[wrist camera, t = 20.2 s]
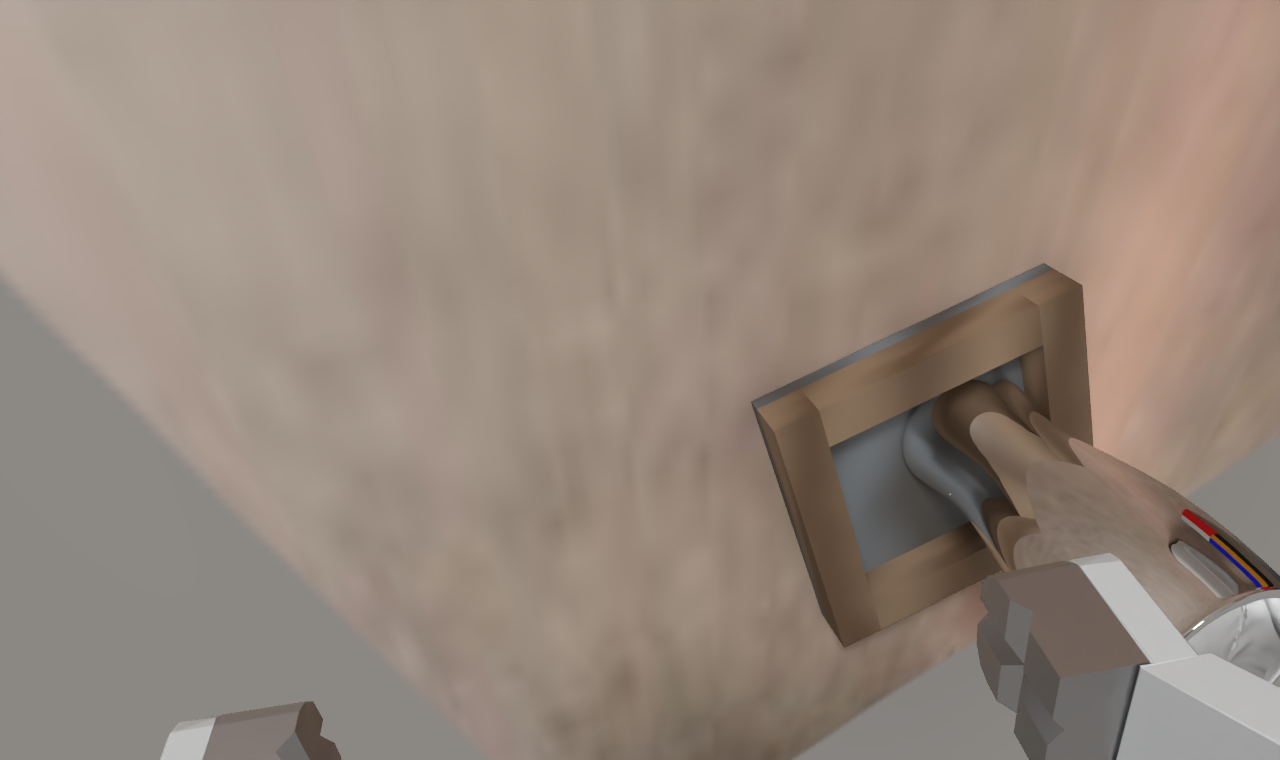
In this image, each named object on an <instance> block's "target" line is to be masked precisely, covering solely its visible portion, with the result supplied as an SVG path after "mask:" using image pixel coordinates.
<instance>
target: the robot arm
mask: <svg viewBox="0 0 1280 760" xmlns="http://www.w3.org/2000/svg"><path fill="white" fill-rule="evenodd" d="M981 600H982V601H983V603H984V605H985V607H986V608H987V610H988V613H987V615H986V616H985V617H984V618H983V619H982V620H981V621H980V622H979V623H978V631H977V648H978V653H979V658H980V664H981V667H982V670H983V672H984V675H985V678H986V680H987V683H988V685H989V687H990V689H991V690H992V692H993V694H994V696H995V698H996V700H997V701H998V702H1000V703H1001V704H1003V705H1005V706H1006V707H1008V708H1009V709H1011V710H1012V711H1014V712H1016V713H1017V715H1016V722H1015V729H1014V733H1015V735H1016V737H1017V739H1018V740H1019V742H1020V744H1021V746H1022V748H1023V749H1024V751H1025V753H1026V755H1027V757H1028V758H1029V760H1280V688H1279V687H1277V686H1275V685H1273V684H1271V683H1269V682H1267V681H1265V680H1264V679H1262V678H1260V677H1258V676H1256V675H1254V674H1252V673H1250V672H1248V671H1246V670H1244V669H1242V668H1240V667H1238V666H1236V665H1234V664H1232V663H1230V662H1228V661H1226V660H1224V659H1222V658H1220V657H1218V656H1216V655H1214V654H1212V653H1207V654H1200V655H1198V654H1197V653H1196V651H1195V650H1194V649H1193V648H1192V646H1191V645H1190V644H1189V643H1188V642H1187V640H1186V639H1185V638H1184V637H1183V636H1182V634H1181V633H1180V632H1179V631H1178V629H1177V628H1176V627H1175V626H1174V625H1173V623H1172V622H1171V621H1170V620H1169V618H1168V617H1167V616H1166V615H1165V614H1164V612H1163V611H1162V610H1161V609H1160V608H1159V606H1158V605H1157V604H1156V603H1155V601H1154V600H1153V599H1152V598H1151V597H1150V595H1149V594H1148V593H1147V592H1146V590H1145V589H1144V588H1143V587H1142V586H1141V584H1140V583H1139V582H1138V581H1137V580H1136V578H1135V577H1134V576H1133V575H1132V573H1131V572H1130V571H1129V570H1128V569H1127V567H1126V566H1125V565H1124V564H1123V563H1122V561H1121V560H1120V559H1119V558H1118V557H1116V556H1114V555H1113V554H1111V553H1105V554H1100V555H1094V556H1089V557H1084V558H1078V559H1073V560H1069V561H1059V562H1054V563H1049V564H1044V565H1039V566H1034V567H1029V568H1024V569H1018V570H1013V571H1008V572H1003V573H998V574H993V575H988V576H987V577H986V579H985V580H984V582H983V584H982V592H981ZM322 721H323V719H322V717H321V715H320V713H319V711H318V709H317V708H316V706H315V704H314V702H300V703H293V704H287V705H281V706H274V707H268V708H261V709H256V710H249V711H243V712H236V713H230V714H223V715H220V716H214V717H207V718H202V719H196V720H189V721H184V722H179V724H178V725H177V726H176V727H175V728H174V729H173V731H172V732H171V733H170V735H169V736H168V739H167V741H166V744H165V747H164V750H163V752H162V755H161V758H160V760H341V756H340V754H339V752H338V749H337V748H336V745H335V743H334V742H332V741H330V740H328V739H326V738H324V737H322V736H320V732H321V727H322Z"/></svg>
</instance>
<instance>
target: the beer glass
mask: <svg viewBox="0 0 1280 760" xmlns="http://www.w3.org/2000/svg"><path fill="white" fill-rule="evenodd" d="M902 450H903V456H904V460H905V462H906V464H907V466H908V468H909V469H910V471H911V472H912V473H913V474H914V475H915V476H916V477H917V478H918V479H920V480H921V481H922V482H924V483H925V484H927V485H928V486H930V487H931V488H933V489H935V490H936V491H938V492H939V493H941V494H942V495H944V496H945V497H946V498H948V499H949V500H950V501H952V502H953V503H954V504H955V505H956V506H957V507H958V508H959V509H960V510H961V511H962V512H963V513H964V515H965V516H966V517H967V518H968V520H969V521H970V522H971V523H972V525H973V526H974V528H975V529H976V531H977V532H978V534H979V535H980V537H981V538H982V540H983V542H984V543H985V545H986V546H987V548H988V550H989V551H990V553H991V555H992V556H993V558H994V560H995V561H996V563H997V564H998V566H999V568H1000V569H1001V571H1002V572H1008V571H1013V570H1018V569H1024V568H1029V567H1034V566H1039V565H1044V564H1049V563H1054V562H1059V561H1069V560H1073V559H1078V558H1084V557H1089V556H1094V555H1100V554H1105V553H1111V554H1113V555H1114V556H1116V557H1118V558H1119V559H1120V560H1121V561H1122V563H1123V564H1124V565H1125V566H1126V567H1127V569H1128V570H1129V571H1130V572H1131V573H1132V575H1133V576H1134V577H1135V578H1136V580H1137V581H1138V582H1139V583H1140V584H1141V586H1142V587H1143V588H1144V589H1145V590H1146V592H1147V593H1148V594H1149V595H1150V597H1151V598H1152V599H1153V600H1154V601H1155V603H1156V604H1157V605H1158V606H1159V608H1160V609H1161V610H1162V611H1163V612H1164V614H1165V615H1166V616H1167V617H1168V618H1169V620H1170V621H1171V622H1172V623H1173V625H1174V626H1175V627H1176V628H1177V629H1178V631H1179V632H1180V633H1181V634H1182V636H1183V637H1184V638H1185V639H1186V640H1187V642H1188V643H1189V644H1190V645H1191V646H1192V648H1193V649H1194V650H1195V651H1196V653H1197V654H1198V655H1200V654H1207V653H1212V654H1214V655H1216V656H1218V657H1220V658H1222V659H1224V660H1226V661H1228V662H1230V663H1232V664H1234V665H1236V666H1238V667H1240V668H1242V669H1244V670H1246V671H1248V672H1250V673H1252V674H1254V675H1256V676H1258V677H1260V678H1262V679H1264V680H1265V681H1267V682H1269V683H1271V684H1273V685H1275V686H1277V687H1279V686H1280V575H1278V574H1277V573H1276V572H1275V571H1274V570H1273V569H1272V568H1271V567H1269V565H1267V563H1265V562H1264V561H1263V560H1262V559H1261V558H1260V557H1259V556H1258V555H1256V554H1255V553H1254V552H1253V551H1252V550H1251V549H1250V548H1248V547H1247V546H1246V545H1245V544H1244V543H1243V542H1241V540H1239V539H1238V538H1237V537H1236V536H1235V535H1234V534H1232V533H1231V532H1230V531H1229V530H1227V529H1226V528H1225V527H1224V526H1222V525H1221V524H1220V523H1219V522H1217V521H1216V520H1215V519H1214V518H1212V517H1211V516H1210V515H1209V514H1207V513H1206V512H1205V511H1203V510H1202V509H1200V508H1199V507H1198V506H1196V505H1195V504H1193V503H1192V502H1190V501H1189V500H1188V499H1186V498H1185V497H1184V496H1182V495H1181V494H1179V493H1178V492H1176V491H1175V490H1173V489H1172V488H1170V487H1168V486H1166V485H1165V484H1163V483H1161V482H1160V481H1158V480H1156V479H1154V478H1153V477H1151V476H1149V475H1147V474H1146V473H1144V472H1142V471H1140V470H1138V469H1136V468H1135V467H1133V466H1131V465H1129V464H1127V463H1125V462H1123V461H1121V460H1119V459H1117V458H1115V457H1113V456H1111V455H1109V454H1107V453H1105V452H1103V451H1101V450H1099V449H1097V448H1095V447H1093V446H1091V445H1089V444H1087V443H1085V442H1083V441H1081V440H1079V439H1077V438H1075V437H1074V436H1072V435H1070V434H1068V433H1066V432H1065V431H1063V430H1062V429H1060V428H1059V427H1057V426H1056V425H1054V424H1053V423H1051V422H1050V421H1049V420H1048V419H1047V418H1045V417H1044V416H1043V415H1042V414H1041V413H1040V412H1039V411H1038V410H1037V409H1036V408H1035V406H1034V405H1033V404H1032V403H1031V401H1030V400H1029V399H1028V397H1027V396H1026V395H1025V394H1024V392H1023V391H1022V390H1021V388H1020V387H1019V386H1018V385H1017V384H1016V382H1015V381H1014V380H1012V379H1011V378H1010V377H1009V376H1007V375H1006V374H1004V373H1002V372H999V371H996V370H990V371H988V372H986V373H984V374H982V375H979V376H977V377H975V378H973V379H971V380H969V381H967V382H965V383H963V384H961V385H959V386H956V387H954V388H952V389H950V390H948V391H946V392H944V393H942V394H940V395H938V396H936V397H934V398H931V399H929V400H927V401H925V402H923V403H921V404H919V405H918V406H917V407H916V408H915V410H914V412H913V413H912V415H911V417H910V419H909V421H908V423H907V426H906V428H905V432H904V436H903V443H902Z"/></svg>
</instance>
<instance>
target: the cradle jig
mask: <svg viewBox="0 0 1280 760" xmlns="http://www.w3.org/2000/svg"><path fill="white" fill-rule="evenodd" d="M990 370H996V371H999V372H1002V373H1004V374H1006V375H1007V376H1009V377H1010V378H1011V379H1012V380H1014V381H1015V382H1016V384H1017V385H1018V386H1019V387H1020V388H1021V390H1022V391H1023V392H1024V394H1025V395H1026V396H1027V397H1028V399H1029V400H1030V401H1031V403H1032V404H1033V405H1034V406H1035V408H1036V409H1037V410H1038V411H1039V412H1040V413H1041V414H1042V415H1043V416H1044V417H1045V418H1047V419H1048V420H1049V421H1050V422H1051V423H1053V424H1054V425H1056V426H1057V427H1059V428H1060V429H1062V430H1063V431H1065V432H1066V433H1068V434H1070V435H1072V436H1074V437H1075V438H1077V439H1079V440H1081V441H1083V442H1085V443H1087V444H1089V445H1091V446H1093V434H1092V420H1091V405H1090V391H1089V376H1088V361H1087V347H1086V332H1085V318H1084V303H1083V289H1082V285H1081V284H1079V283H1077V282H1076V281H1074V280H1072V279H1070V278H1069V277H1067V276H1065V275H1063V274H1062V273H1060V272H1058V271H1056V270H1055V269H1053V268H1051V267H1050V266H1048V265H1046V264H1042V265H1040V266H1038V267H1035V268H1033V269H1031V270H1029V271H1027V272H1025V273H1023V274H1021V275H1019V276H1016V277H1014V278H1012V279H1010V280H1008V281H1006V282H1004V283H1002V284H1000V285H997V286H995V287H993V288H991V289H989V290H987V291H985V292H983V293H980V294H978V295H976V296H974V297H972V298H970V299H968V300H966V301H964V302H961V303H959V304H957V305H955V306H953V307H951V308H949V309H947V310H945V311H942V312H940V313H938V314H936V315H934V316H932V317H930V318H928V319H925V320H923V321H921V322H919V323H917V324H915V325H913V326H911V327H909V328H906V329H904V330H902V331H900V332H898V333H896V334H894V335H892V336H890V337H887V338H885V339H883V340H881V341H879V342H877V343H875V344H873V345H870V346H868V347H866V348H864V349H862V350H860V351H858V352H856V353H854V354H851V355H849V356H847V357H845V358H843V359H841V360H839V361H837V362H835V363H832V364H830V365H828V366H826V367H824V368H822V369H820V370H818V371H815V372H813V373H811V374H809V375H807V376H805V377H803V378H801V379H799V380H796V381H794V382H792V383H790V384H788V385H786V386H784V387H782V388H780V389H777V390H775V391H773V392H771V393H769V394H767V395H765V396H763V397H760V398H758V399H756V400H754V401H752V402H751V403H752V406H753V409H754V412H755V415H756V418H757V421H758V424H759V427H760V430H761V433H762V436H763V439H764V442H765V445H766V448H767V451H768V454H769V457H770V460H771V463H772V466H773V469H774V472H775V475H776V478H777V481H778V484H779V487H780V490H781V493H782V496H783V499H784V502H785V505H786V507H787V510H788V513H789V516H790V519H791V522H792V525H793V528H794V531H795V534H796V537H797V540H798V543H799V546H800V549H801V552H802V555H803V558H804V561H805V564H806V567H807V570H808V573H809V576H810V579H811V582H812V585H813V588H814V591H815V594H816V597H817V600H818V603H819V606H820V609H821V612H822V614H823V616H824V617H825V619H826V620H827V622H828V623H829V625H830V626H831V628H832V630H833V631H834V633H835V634H836V636H837V637H838V639H839V640H840V642H841V643H842V645H843V646H844V648H845V647H847V646H849V645H851V644H853V643H855V642H857V641H859V640H861V639H863V638H865V637H867V636H869V635H871V634H873V633H875V632H877V631H879V630H881V629H883V628H885V627H887V626H889V625H891V624H893V623H895V622H897V621H899V620H901V619H903V618H905V617H907V616H909V615H911V614H913V613H915V612H917V611H919V610H921V609H923V608H925V607H927V606H929V605H931V604H933V603H935V602H937V601H939V600H941V599H943V598H945V597H947V596H950V595H952V594H954V593H956V592H958V591H960V590H962V589H964V588H966V587H968V586H970V585H972V584H974V583H976V582H978V581H980V580H982V579H984V578H986V577H987V576H988V575H992V574H994V573H996V572H998V571H1000V570H1001V569H1000V568H999V566H998V564H997V563H996V561H995V560H994V558H993V556H992V555H991V553H990V551H989V550H988V548H987V546H986V545H985V543H984V542H983V540H982V538H981V537H980V535H979V534H978V532H977V531H976V529H975V528H974V526H973V525H972V523H971V522H970V521H969V520H968V518H967V517H966V516H965V515H964V513H963V512H962V511H961V510H960V509H959V508H958V507H957V506H956V505H955V504H954V503H953V502H952V501H950V500H949V499H948V498H946V497H945V496H944V495H942V494H941V493H939V492H938V491H936V490H935V489H933V488H931V487H930V486H928V485H927V484H925V483H924V482H922V481H921V480H920V479H918V478H917V477H916V476H915V475H914V474H913V473H912V472H911V471H910V469H909V468H908V466H907V464H906V462H905V460H904V456H903V450H902V443H903V436H904V432H905V428H906V426H907V423H908V421H909V419H910V417H911V415H912V413H913V412H914V410H915V408H916V407H917V406H918V405H919V404H921V403H923V402H925V401H927V400H929V399H931V398H934V397H936V396H938V395H940V394H942V393H944V392H946V391H948V390H950V389H952V388H954V387H956V386H959V385H961V384H963V383H965V382H967V381H969V380H971V379H973V378H975V377H977V376H979V375H982V374H984V373H986V372H988V371H990Z"/></svg>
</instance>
